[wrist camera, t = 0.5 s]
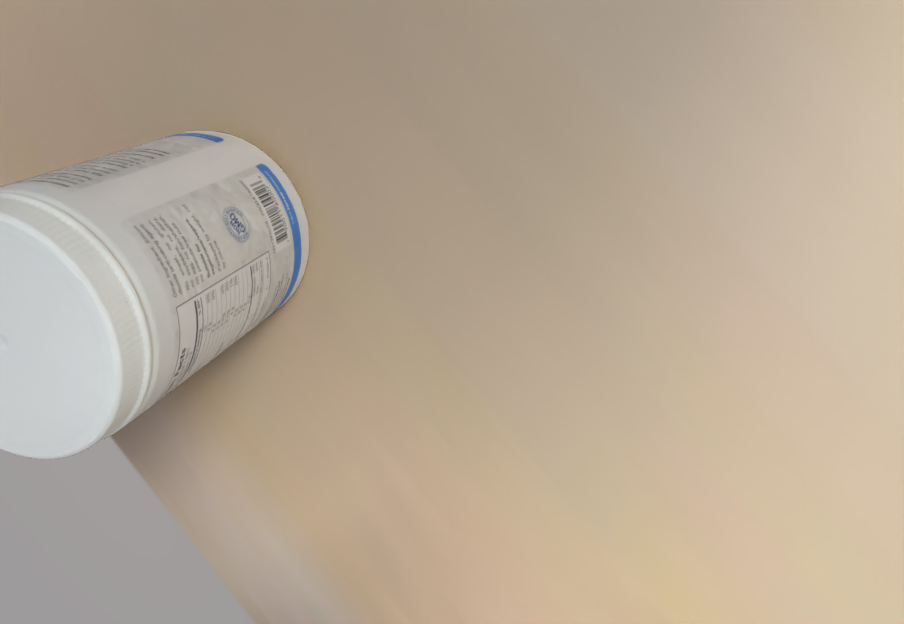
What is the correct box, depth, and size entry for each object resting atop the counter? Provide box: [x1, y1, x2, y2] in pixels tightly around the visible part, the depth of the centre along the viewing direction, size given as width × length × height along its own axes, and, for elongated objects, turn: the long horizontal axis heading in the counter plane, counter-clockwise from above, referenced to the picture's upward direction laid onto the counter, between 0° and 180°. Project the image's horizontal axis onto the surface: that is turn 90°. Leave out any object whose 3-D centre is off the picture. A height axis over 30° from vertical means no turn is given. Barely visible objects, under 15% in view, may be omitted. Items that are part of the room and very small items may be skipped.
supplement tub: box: [0, 131, 310, 459], centre depth 35 cm, size 10×10×15 cm
